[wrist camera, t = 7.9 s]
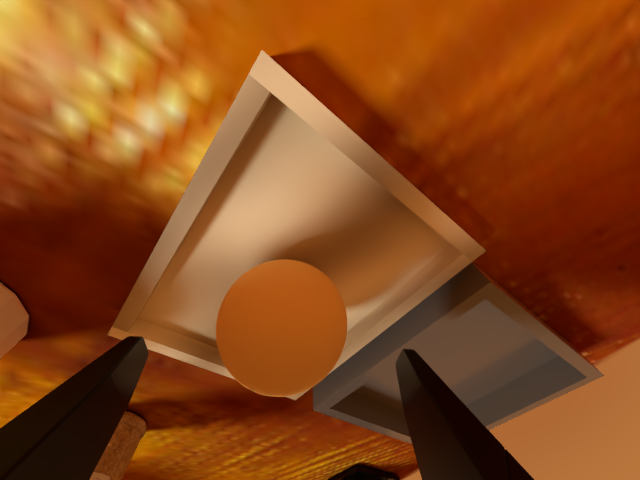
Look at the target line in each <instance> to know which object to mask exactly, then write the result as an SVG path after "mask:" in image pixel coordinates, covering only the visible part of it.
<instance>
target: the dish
mask: <svg viewBox="0 0 640 480" xmlns="http://www.w3.org/2000/svg"><path fill="white" fill-rule="evenodd" d="M402 349H413V350H415V351H416V352H417V353H418V354H419V355H420V356H421V357H422V359H423V360H424V361H425V362H426V363H427V364H428V365H429V366H430V367H431V368H432V369H433V370H434V372H435V373H436V374H437V375H438V376H439V377H440V378H441V379H442V380H443V381H444V382H445V384H446V385H447V386H448V387H449V388H450V389H451V390H452V391H453V392H454V393H455V394H456V396H457V397H458V398H459V399H460V400H461V401H462V402H463V403H464V404H465V405H466V406H467V407H468V409H469V410H470V411H471V412H472V413H473V414H474V415H475V416H476V417H477V418H478V419H479V421H480V422H481V423H482V424H483V425H484V426H485V427H486V428H487V429H488V430H490V429H492V428H494V427H496V426H498V425H500V424H502V423H504V422H507V421H509V420H511V419H513V418H515V417H517V416H519V415H521V414H524V413H526V412H528V411H530V410H532V409H534V408H536V407H538V406H540V405H543V404H545V403H547V402H549V401H551V400H553V399H555V398H557V397H560V396H562V395H564V394H566V393H568V392H570V391H572V390H574V389H577V388H579V387H581V386H583V385H585V384H587V383H589V382H591V381H593V380H596V379H598V378H600V377H602V376H604V375H603V374H602V373H601V372H600V371H599V370H598V369H597V368H596V367H595V366H594V365H593V364H591V363H590V362H589V361H588V360H587V359H586V358H585V357H584V356H583V355H582V354H581V353H580V352H579V351H578V350H577V349H576V348H575V347H574V346H572V345H571V344H570V343H569V342H568V341H567V340H566V339H564V338H563V337H562V336H561V335H560V334H558V333H557V332H556V331H555V330H554V329H552V328H551V327H550V326H549V325H548V324H547V323H545V322H544V321H543V320H542V319H541V318H539V317H538V316H537V315H536V314H535V313H533V312H532V311H531V310H530V309H529V308H527V307H526V306H525V305H524V304H523V303H521V302H520V301H519V300H518V299H517V298H516V297H514V296H513V295H512V294H511V293H510V292H508V291H507V290H506V289H505V288H504V287H502V286H501V285H500V284H499V283H498V282H496V281H495V280H494V279H493V278H492V277H491V276H489V275H488V274H487V273H486V272H485V271H483V270H482V269H481V268H480V267H479V266H477V265H476V264H475V263H474V262H471V263H470V264H469V265H468V266H466V267H465V268H464V269H462V270H461V271H460V272H459V273H457V274H456V275H455V276H453V277H452V278H451V279H450V280H448V281H447V282H446V283H445V284H443V285H442V286H441V287H439V288H438V289H437V290H436V291H434V292H433V293H432V294H430V295H429V296H428V297H427V298H425V299H424V300H423V301H422V302H420V303H419V304H418V305H416V306H415V307H414V308H413V309H411V310H410V311H409V312H407V313H406V314H405V315H404V316H402V317H401V318H400V319H399V320H397V321H396V322H395V323H393V324H392V325H391V326H390V327H388V328H387V329H386V330H385V331H383V332H382V333H381V334H379V335H378V336H377V337H376V338H374V339H373V340H372V341H370V342H369V343H368V344H367V345H365V346H364V347H363V348H362V349H360V350H359V351H358V352H356V353H355V354H354V355H353V356H351V357H350V358H349V359H347V360H346V361H345V362H344V363H342V364H341V365H340V366H339V367H337V368H336V369H335V370H333V371H332V372H331V373H330V374H328V375H327V376H326V377H325V378H324V379H323V380H322V381H320V382H319V383H318V384H317V385H315V386H314V387H313V410H314V411H317V412H320V413H323V414H326V415H329V416H332V417H335V418H337V419H340V420H343V421H346V422H349V423H352V424H355V425H358V426H361V427H364V428H367V429H370V430H373V431H376V432H378V433H381V434H384V435H387V436H390V437H393V438H396V439H399V440H402V441H405V442H408V443H411V444H412V441H411V437H410V434H409V430H408V427H407V423H406V419H405V415H404V411H403V406H402V401H401V395H400V389H399V384H398V378H397V372H396V361H397V359H398V356H399V354H400V352H401V350H402Z"/></svg>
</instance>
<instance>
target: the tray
mask: <svg viewBox="0 0 640 480" xmlns="http://www.w3.org/2000/svg"><path fill="white" fill-rule="evenodd" d="M485 251H486V250H485V249H484V248H483V247H482V246H481V245H479V244H478V243H477V242H476V241H475V240H474V239H473V238H472V237H470V236H469V235H468V234H467V233H466V232H465V231H464V230H463V229H462V228H460V227H459V226H458V225H457V224H456V223H455V222H454V221H453V220H451V219H450V218H449V217H448V216H447V215H446V214H445V213H444V212H443V211H441V210H440V209H439V208H438V207H437V206H436V205H435V204H434V203H433V202H431V201H430V200H429V199H428V198H427V197H426V196H425V195H424V194H422V193H421V192H420V191H419V190H418V189H417V188H416V187H415V186H414V185H412V184H411V183H410V182H409V181H408V180H407V179H406V178H405V177H403V176H402V175H401V174H400V173H399V172H398V171H397V170H396V169H395V168H393V167H392V166H391V165H390V164H389V163H388V162H387V161H386V160H385V159H383V158H382V157H381V156H380V155H379V154H378V153H377V152H376V151H374V150H373V149H372V148H371V147H370V146H369V145H368V144H367V143H366V142H364V141H363V140H362V139H361V138H360V137H359V136H358V135H357V134H355V133H354V132H353V131H352V130H351V129H350V128H349V127H348V126H347V125H345V124H344V123H343V122H342V121H341V120H340V119H339V118H338V117H336V116H335V115H334V114H333V113H332V112H331V111H330V110H329V109H328V108H326V107H325V106H324V105H323V104H322V103H321V102H320V101H319V100H318V99H316V98H315V97H314V96H313V95H312V94H311V93H310V92H309V91H307V90H306V89H305V88H304V87H303V86H302V85H301V84H300V83H299V82H297V81H296V80H295V79H294V78H293V77H292V76H291V75H290V74H288V73H287V72H286V71H285V70H284V69H283V68H282V67H281V66H280V65H278V64H277V63H276V62H275V61H274V60H273V59H272V58H271V57H270V56H268V55H267V54H266V53H265V52H264V51H263V50H262V51H261V52H260V54H259V56H258V58H257V60H256V62H255V63H254V65H253V67H252V69H251V71H250V73H249V74H248V76H247V78H246V80H245V82H244V84H243V86H242V87H241V89H240V91H239V93H238V95H237V97H236V98H235V100H234V102H233V104H232V106H231V108H230V110H229V111H228V113H227V115H226V117H225V119H224V121H223V122H222V124H221V126H220V128H219V130H218V132H217V134H216V135H215V137H214V139H213V141H212V143H211V145H210V146H209V148H208V150H207V152H206V154H205V156H204V157H203V159H202V161H201V163H200V165H199V167H198V169H197V170H196V172H195V174H194V176H193V178H192V180H191V181H190V183H189V185H188V187H187V189H186V191H185V193H184V194H183V196H182V198H181V200H180V202H179V204H178V205H177V207H176V209H175V211H174V213H173V215H172V217H171V218H170V220H169V222H168V224H167V226H166V228H165V229H164V231H163V233H162V235H161V237H160V239H159V240H158V242H157V244H156V246H155V248H154V250H153V252H152V253H151V255H150V257H149V259H148V261H147V263H146V264H145V266H144V268H143V270H142V272H141V274H140V276H139V277H138V279H137V281H136V283H135V285H134V287H133V288H132V290H131V292H130V294H129V296H128V298H127V300H126V301H125V303H124V305H123V307H122V309H121V311H120V312H119V314H118V316H117V318H116V320H115V322H114V324H113V325H112V327H111V329H110V331H109V333H108V335H109V336H112V337H115V338H118V339H121V340H123V339H125V338H126V337H129V336H142V337H143V338H144V340H145V343H146V346H147V349H149V350H152V351H155V352H158V353H161V354H164V355H167V356H169V357H172V358H175V359H178V360H181V361H184V362H187V363H190V364H192V365H195V366H198V367H201V368H204V369H207V370H210V371H213V372H215V373H218V374H221V375H224V376H227V377H230V378H233V379H235V378H234V377H233V376H232V375H231V374H230V373H229V371H228V370H227V368H226V367H225V365H224V363H223V361H222V359H221V356H220V354H219V350H218V346H217V342H216V322H217V316H218V312H219V308H220V306H221V303H222V301H223V299H224V297H225V295H226V293H227V292H228V290H229V289H230V287H231V286H232V285H233V284H234V283H235V281H236V280H237V279H238V278H239V277H241V276H242V275H243V274H244V273H245V272H247V271H248V270H250V269H252V268H253V267H255V266H257V265H260V264H262V263H265V262H268V261H273V260H281V259H289V260H296V261H301V262H304V263H307V264H309V265H312V266H314V267H315V268H317V269H319V270H320V271H321V272H323V273H324V274H325V275H326V276H327V277H328V278H329V279H330V280H331V281H332V282H333V283H334V285H335V286H336V288H337V289H338V291H339V293H340V295H341V297H342V299H343V302H344V305H345V309H346V314H347V336H346V341H345V345H344V348H343V351H342V353H341V356H340V358H339V360H338V361H337V363H336V365H335V366H334V368H333V369H332V370H331V371H330V373H331V372H332V371H333V370H335V369H336V368H337V367H339V366H340V365H341V364H342V363H344V362H345V361H346V360H347V359H349V358H350V357H351V356H353V355H354V354H355V353H356V352H358V351H359V350H360V349H362V348H363V347H364V346H365V345H367V344H368V343H369V342H370V341H372V340H373V339H374V338H376V337H377V336H378V335H379V334H381V333H382V332H383V331H385V330H386V329H387V328H388V327H390V326H391V325H392V324H393V323H395V322H396V321H397V320H399V319H400V318H401V317H402V316H404V315H405V314H406V313H407V312H409V311H410V310H411V309H413V308H414V307H415V306H416V305H418V304H419V303H420V302H422V301H423V300H424V299H425V298H427V297H428V296H429V295H430V294H432V293H433V292H434V291H436V290H437V289H438V288H439V287H441V286H442V285H443V284H445V283H446V282H447V281H448V280H450V279H451V278H452V277H453V276H455V275H456V274H457V273H459V272H460V271H461V270H462V269H464V268H465V267H466V266H468V265H469V264H470V263H471V262H473V261H474V260H475V259H476V258H478V257H479V256H480V255H482V254H483V253H484V252H485ZM330 373H329V374H330ZM308 390H309V389H308ZM308 390H306V391H304V392H302V393H299V394H296V395H292V396H285V397H287V398H290V399H293V400H296V399H298V398H299V397H300V396H302V395H303V394H304V393H305V392H307V391H308Z"/></svg>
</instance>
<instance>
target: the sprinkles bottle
mask: <svg viewBox="0 0 640 480" xmlns="http://www.w3.org/2000/svg"><path fill="white" fill-rule="evenodd" d="M146 429H147V426H146V423H145V421H144V420H143V419H141V418H140V417H139V416H138V415H136V414H134V413H131V412H126V411H125V413H124V415H123V417H122V419H121V421H120V422H119V424H118V426H117V428H116V430H115V432H114V434H113V436H112V438H111V440H110V441H109V443H108V445H107V447H106V449H105V451H104V453H103V455H102V457H101V459H100V460H99V462H98V464H97V466H96V468H95V470H94V472H93V474H92V476H91V478H90V479H89V480H122V477H123V475H124V473H125V471H126V469H127V466H128V464H129V463H130V461H131V458H132V456H133V454H134V452H135V450H136V448H137V446H138V443H139V441H140V440H141V438H142V437H143V436H144V434H145V432H146Z"/></svg>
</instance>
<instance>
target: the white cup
mask: <svg viewBox="0 0 640 480" xmlns="http://www.w3.org/2000/svg"><path fill="white" fill-rule="evenodd" d="M28 322H29V314H28V313H27V311H26V310H25V308H24V306H23V305H22V303H21V302H20V300H19V299H18V297H17V296H16V294H15V293H13V292H12V291H11V290H10V289H8V288H7V287H6V286H4V285H3V284H2V283H1V282H0V359H1V358H2V357H3V356H4V355H5V354H6V353H7V352H8V351H9V350H10V349H11V348H13V347H14V346H15V345H16V344H17V343H18V342H19V341H20V340H21V339H22V338H23V337H24V336H25V335H26V334H27V330H28Z"/></svg>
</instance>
